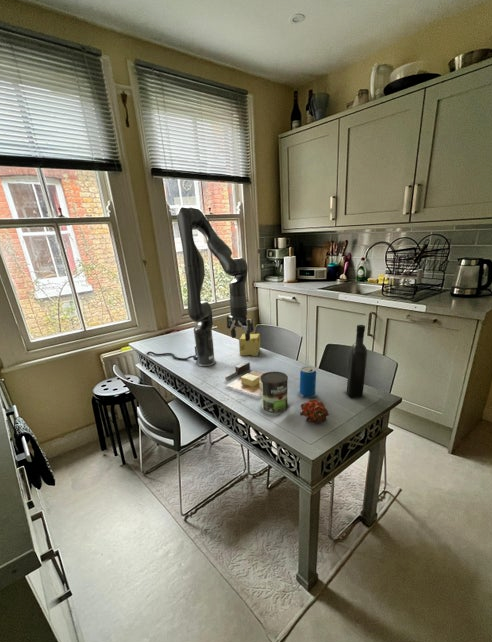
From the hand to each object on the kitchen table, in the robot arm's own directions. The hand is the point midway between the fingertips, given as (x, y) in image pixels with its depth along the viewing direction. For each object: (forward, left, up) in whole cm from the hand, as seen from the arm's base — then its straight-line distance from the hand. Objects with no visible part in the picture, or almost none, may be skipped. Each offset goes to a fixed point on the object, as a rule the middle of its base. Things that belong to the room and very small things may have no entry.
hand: (240, 339), depth 149 cm
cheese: (-15, +24, -18) cm, 34 cm away
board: (+13, -6, -18) cm, 23 cm away
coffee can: (+32, -18, -18) cm, 41 cm away
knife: (0, -4, -18) cm, 19 cm away
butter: (+12, -8, -17) cm, 22 cm away
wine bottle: (+53, +10, -18) cm, 57 cm away
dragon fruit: (+48, -16, -18) cm, 54 cm away
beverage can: (+37, -1, -18) cm, 41 cm away
